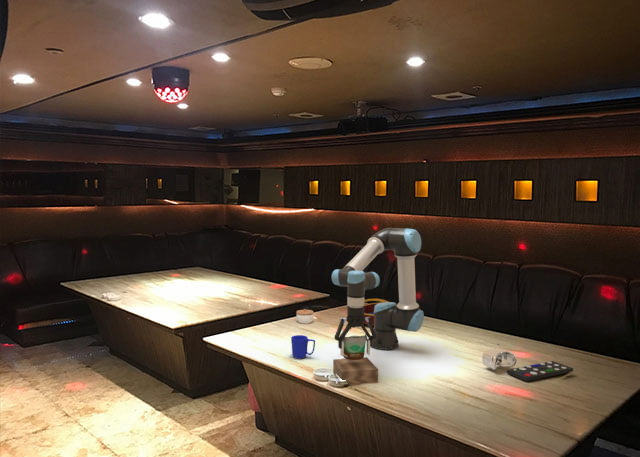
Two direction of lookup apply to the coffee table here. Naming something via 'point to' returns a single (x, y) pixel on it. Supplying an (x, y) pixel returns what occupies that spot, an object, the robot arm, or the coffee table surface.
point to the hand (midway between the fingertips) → (355, 354)
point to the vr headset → (499, 358)
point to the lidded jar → (305, 316)
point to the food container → (354, 347)
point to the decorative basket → (371, 309)
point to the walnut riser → (356, 371)
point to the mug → (300, 346)
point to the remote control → (539, 370)
